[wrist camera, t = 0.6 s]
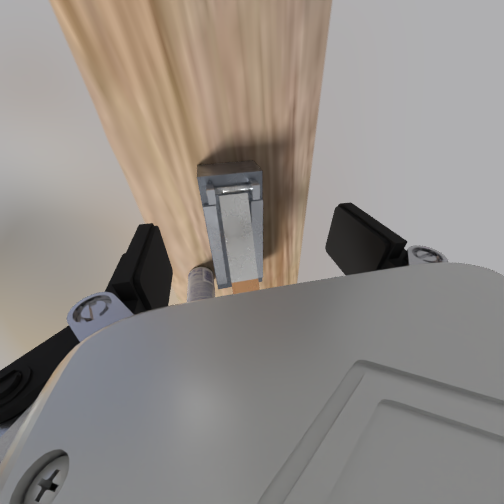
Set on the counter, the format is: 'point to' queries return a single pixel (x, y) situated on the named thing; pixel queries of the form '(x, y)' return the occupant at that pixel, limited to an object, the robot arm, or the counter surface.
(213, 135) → the counter surface
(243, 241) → the grey bar
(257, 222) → the grey piece
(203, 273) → the energy drink
